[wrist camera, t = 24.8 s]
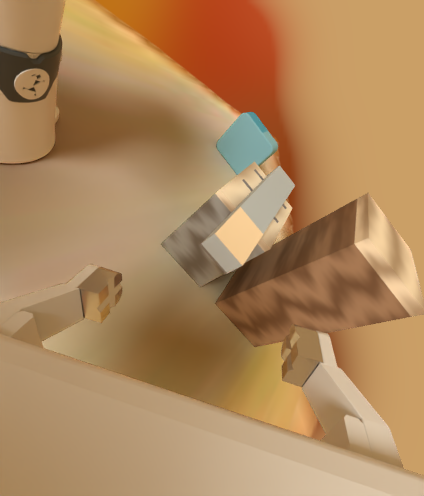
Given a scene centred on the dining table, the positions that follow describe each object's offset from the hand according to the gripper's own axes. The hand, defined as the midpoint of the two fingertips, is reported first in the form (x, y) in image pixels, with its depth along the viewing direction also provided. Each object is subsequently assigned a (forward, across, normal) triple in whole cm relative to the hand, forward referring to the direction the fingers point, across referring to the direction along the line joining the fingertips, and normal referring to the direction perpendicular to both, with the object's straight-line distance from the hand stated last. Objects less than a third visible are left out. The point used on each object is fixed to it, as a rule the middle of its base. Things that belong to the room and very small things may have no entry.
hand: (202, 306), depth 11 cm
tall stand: (+29, +6, -25) cm, 39 cm away
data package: (+62, -7, -7) cm, 63 cm away
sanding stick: (+22, +2, -4) cm, 23 cm away
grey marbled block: (+31, -6, -16) cm, 35 cm away
